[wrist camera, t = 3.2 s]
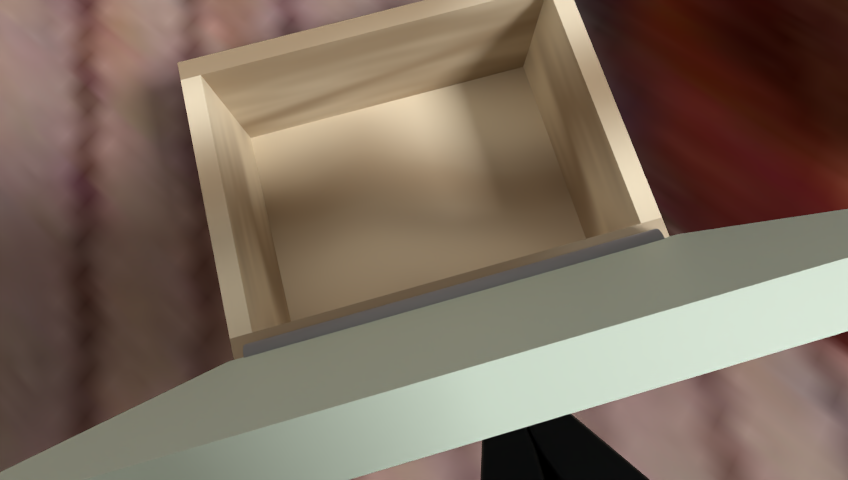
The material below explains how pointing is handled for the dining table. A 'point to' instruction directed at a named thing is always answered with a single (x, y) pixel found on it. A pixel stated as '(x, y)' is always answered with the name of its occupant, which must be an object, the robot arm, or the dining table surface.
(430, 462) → the dining table surface
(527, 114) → the oak box
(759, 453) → the dining table surface
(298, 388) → the lid
